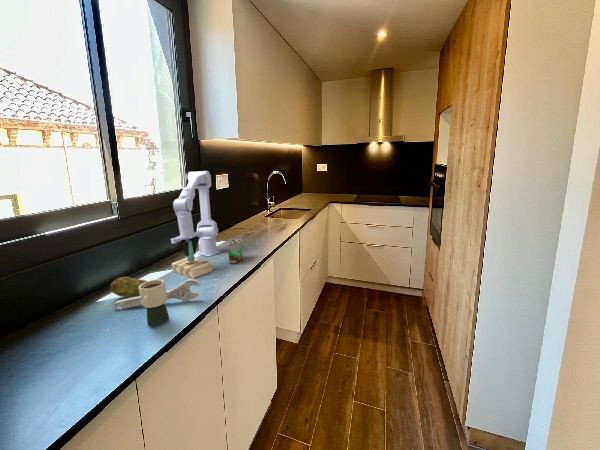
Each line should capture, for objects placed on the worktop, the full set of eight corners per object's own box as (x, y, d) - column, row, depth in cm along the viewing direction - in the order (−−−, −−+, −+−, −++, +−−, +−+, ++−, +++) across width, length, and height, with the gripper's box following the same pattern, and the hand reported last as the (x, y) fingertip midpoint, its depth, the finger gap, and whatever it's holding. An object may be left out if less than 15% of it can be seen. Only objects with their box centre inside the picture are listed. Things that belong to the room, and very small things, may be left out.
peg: (186, 260, 129) (183, 241, 127) (192, 258, 131) (189, 239, 129) (190, 261, 127) (187, 242, 125) (196, 259, 129) (193, 240, 127)
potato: (146, 299, 105) (142, 279, 103) (109, 303, 103) (104, 283, 102) (154, 289, 113) (151, 270, 111) (120, 293, 112) (116, 274, 110)
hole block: (173, 271, 131) (171, 263, 130) (192, 264, 139) (191, 256, 138) (193, 278, 122) (191, 269, 121) (212, 270, 129) (211, 262, 129)
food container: (241, 264, 135) (239, 244, 132) (229, 265, 135) (226, 245, 133) (247, 256, 147) (245, 237, 144) (235, 256, 147) (233, 238, 145)
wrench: (119, 315, 101) (204, 297, 103) (117, 317, 99) (203, 299, 101) (112, 294, 99) (198, 276, 101) (109, 297, 97) (197, 278, 99)
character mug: (154, 314, 94) (147, 277, 91) (176, 312, 95) (170, 275, 92) (138, 333, 84) (130, 293, 81) (163, 331, 84) (155, 291, 81)
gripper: (175, 230, 117) (180, 261, 120) (205, 222, 129) (209, 251, 132) (166, 228, 122) (171, 258, 125) (196, 221, 133) (200, 249, 136)
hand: (190, 254), depth 128 cm, fingers closed on peg, 3 cm apart
